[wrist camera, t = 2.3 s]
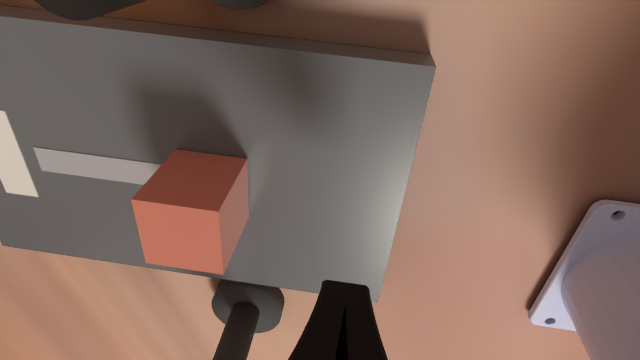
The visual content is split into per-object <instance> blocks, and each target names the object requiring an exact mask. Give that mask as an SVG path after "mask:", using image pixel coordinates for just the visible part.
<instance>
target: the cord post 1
mask: <svg viewBox="0 0 640 360" xmlns="http://www.w3.org/2000/svg"><path fill="white" fill-rule="evenodd" d="M35 1H36V2H38V3H39V4H40V5H41V6H42V7H44V8H45V9H47V10H48V11H50V12H52V13H53V14H55V15H58V16H60V17H62V18H66V19H69V20H76V21H82V20H89V19H92V18H95V17H98V16H101V15H104V14H107V13H110V12H113V11H116V10H119V9H122V8H125V7H128V6H131V5H134V4H137V3H140V2H143V1H146V0H35ZM210 1H212V2H214V3H216V4H218V5H220V6H223V7H227V8H232V9H249V8H253V7H257V6H259V5H261V4H264V3H265V2H267V1H268V0H210Z"/></svg>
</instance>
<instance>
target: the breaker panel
mask: <svg viewBox="0 0 640 360" xmlns="http://www.w3.org/2000/svg"><path fill="white" fill-rule="evenodd" d="M435 69H436V65H435V63H434V61H433V58H432V56H431V54H423V53H415V52H406V51H397V50H389V49H380V48H371V47H362V46H354V45H345V44H336V43H328V42H319V41H310V40H301V39H293V38H284V37H275V36H267V35H258V34H249V33H240V32H232V31H223V30H214V29H206V28H197V27H188V26H179V25H171V24H162V23H153V22H145V21H136V20H127V19H118V18H110V17H101V16H98V17H95V18H92V19H89V20H82V21H76V20H69V19H66V18H62V17H60V16H58V15H55V14H53V13H52V12H50V11H48V10H40V9H31V8H23V7H14V6H5V5H0V241H1V243H2V245H3V246H8V247H15V248H22V249H28V250H35V251H41V252H48V253H55V254H61V255H68V256H74V257H81V258H88V259H94V260H101V261H107V262H114V263H120V264H127V265H134V266H140V267H147V268H153V269H160V270H167V271H173V272H180V273H186V274H193V275H200V276H206V277H213V278H219V279H226V280H233V281H239V282H246V283H252V284H259V285H266V286H272V287H279V288H285V289H292V290H299V291H305V292H312V293H318V294H319V293H320V290H321V285H322V281H324V280H333V281H340V282H347V283H354V284H360V285H367V287H368V288H369V289H370V297H371V302H378V300H379V296H380V292H381V288H382V284H383V280H384V275H385V271H386V267H387V263H388V259H389V255H390V251H391V247H392V243H393V239H394V235H395V231H396V227H397V223H398V219H399V215H400V211H401V207H402V203H403V199H404V195H405V191H406V187H407V182H408V178H409V174H410V170H411V166H412V162H413V158H414V154H415V150H416V146H417V142H418V138H419V134H420V130H421V126H422V122H423V118H424V114H425V110H426V106H427V102H428V98H429V94H430V89H431V85H432V81H433V77H434V73H435ZM175 149H178V150H185V151H193V152H200V153H208V154H215V155H223V156H230V157H238V158H245V159H247V162H248V199H249V217H248V220H247V222H246V224H245V227H244V229H243V231H242V233H241V236H240V238H239V240H238V243H237V245H236V247H235V250H234V252H233V254H232V256H231V259H230V261H229V263H228V266H227V268H226V270H225V272H224V275H222V274H215V273H208V272H202V271H195V270H188V269H182V268H175V267H169V266H162V265H155V264H149V263H146V262H145V257H144V253H143V249H142V245H141V240H140V236H139V232H138V228H137V223H136V219H135V215H134V211H133V206H132V202H131V199H132V198H133V196H134V195H135V194H136V193H137V192H138V191H139V190H140V189H141V187H142V186H143V185H144V184H145V183H146V182H147V181H148V180H149V178H150V177H151V176H152V175H153V174H154V173H155V172H156V171H157V169H158V168H159V167H160V166H161V165H162V164H163V163H164V162H165V161H166V159H167V158H168V157H169V156H170V155H171V154H172V153H173V152H174V150H175Z"/></svg>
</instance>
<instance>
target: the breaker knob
mask: <svg viewBox="0 0 640 360" xmlns="http://www.w3.org/2000/svg"><path fill="white" fill-rule="evenodd" d="M131 202H132V206H133V211H134V215H135V219H136V223H137V228H138V232H139V236H140V240H141V245H142V249H143V253H144V257H145V262H146V263H149V264H155V265H162V266H169V267H175V268H182V269H188V270H195V271H202V272H208V273H215V274H222V275H224V272H225V270H226V268H227V266H228V263H229V261H230V259H231V256H232V254H233V252H234V250H235V247H236V245H237V243H238V240H239V238H240V236H241V233H242V231H243V229H244V227H245V224H246V222H247V220H248V217H249V199H248V162H247V159H245V158H238V157H230V156H223V155H215V154H208V153H200V152H193V151H185V150H178V149H175V150H174V152H173V153H172V154H171V155H170V156H169V157H168V158H167V159H166V161H165V162H164V163H163V164H162V165H161V166H160V167H159V168H158V169H157V171H156V172H155V173H154V174H153V175H152V176H151V177H150V178H149V180H148V181H147V182H146V183H145V184H144V185H143V186H142V187H141V189H140V190H139V191H138V192H137V193H136V194H135V195H134V196H133V198H132V199H131Z"/></svg>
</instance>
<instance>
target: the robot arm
mask: <svg viewBox="0 0 640 360" xmlns="http://www.w3.org/2000/svg"><path fill="white" fill-rule="evenodd" d="M617 211H619V212H618V213H617V214H615V215H612V214H613V213H614V212H617ZM528 317H529V320H530V322H531V323H532V324H535V325H539V326H546V327H552V328H559V329H566V330H572V331H577V333H578V335H579V337H580V339H581V341H582V343H583V345H584V347H585V349H586V351H587V353H588V355H589V357H590V359H591V360H640V204H636V203H629V202H621V201H613V200H600V201H597V202H595V203H594V204H592V206H591V207H590V208H589V210H588V211H587V213H586V215H585V217H584V218H583V220H582V222H581V223H580V225H579V227H578V229H577V230H576V232H575V234H574V235H573V237H572V239H571V240H570V242H569V244H568V246H567V247H566V249H565V251H564V252H563V254H562V256H561V258H560V259H559V261H558V263H557V264H556V266H555V268H554V269H553V271H552V273H551V275H550V276H549V278H548V280H547V281H546V283H545V285H544V287H543V288H542V290H541V292H540V293H539V295H538V297H537V299H536V300H535V302H534V304H533V305H532V307H531V309H530V310H529V312H528ZM335 359H336V360H388V359H387V356H386V353H385V350H384V347H383V344H382V341H381V338H380V334H379V331H378V327H377V324H376V320H375V316H374V312H373V307H372V302H371V297H370V289H369V288H368V287H367V285H360V284H354V283H347V282H340V281H333V280H324V281H322V285H321V290H320V293H319V296H318V299H317V302H316V304H315V307H314V309H313V312H312V314H311V316H310V319H309V321H308V323H307V325H306V327H305V329H304V331H303V333H302V335H301V337H300V339H299V341H298V343H297V345H296V347H295V348H294V350H293V352H292V354H291V355H290V357H289V359H288V360H335Z"/></svg>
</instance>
